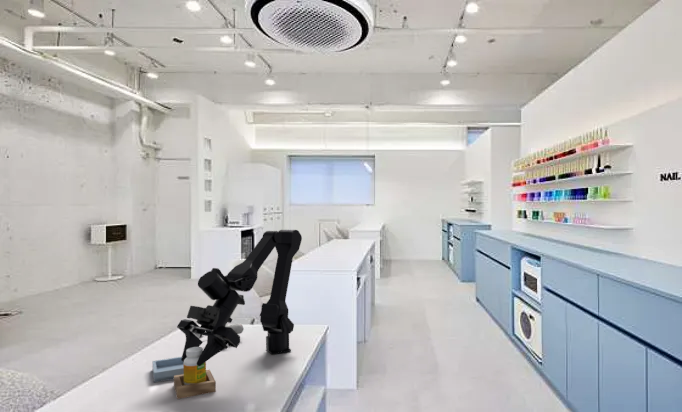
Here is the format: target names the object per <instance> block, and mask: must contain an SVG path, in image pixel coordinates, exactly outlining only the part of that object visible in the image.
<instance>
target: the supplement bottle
mask: <svg viewBox="0 0 682 412" xmlns="http://www.w3.org/2000/svg"><path fill="white" fill-rule="evenodd" d="M203 350H204V348H203V347H201V346H199V347H191V348H188V349H187V350H186V356H187V358H185V359H184V364H183V366H184V385H189V384H195V383H200V382H206V370H207V361H206V362H205V363H203V364H202V365H201V366H198V365H197V361H198V359H199V357H200V355H201V353H202V351H203ZM184 385H183V386H184Z"/></svg>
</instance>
